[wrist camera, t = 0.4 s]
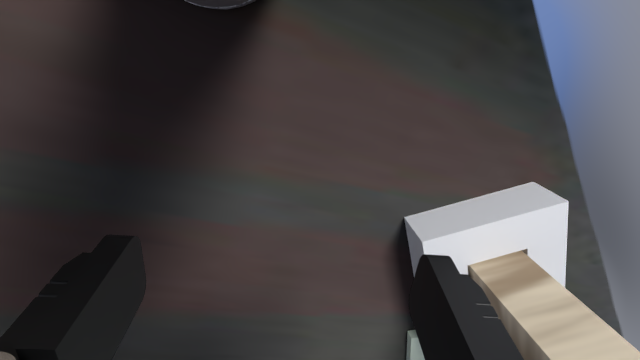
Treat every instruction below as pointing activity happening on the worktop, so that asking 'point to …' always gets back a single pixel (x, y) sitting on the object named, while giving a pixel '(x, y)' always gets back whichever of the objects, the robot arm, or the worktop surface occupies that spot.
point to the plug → (545, 313)
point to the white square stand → (495, 229)
